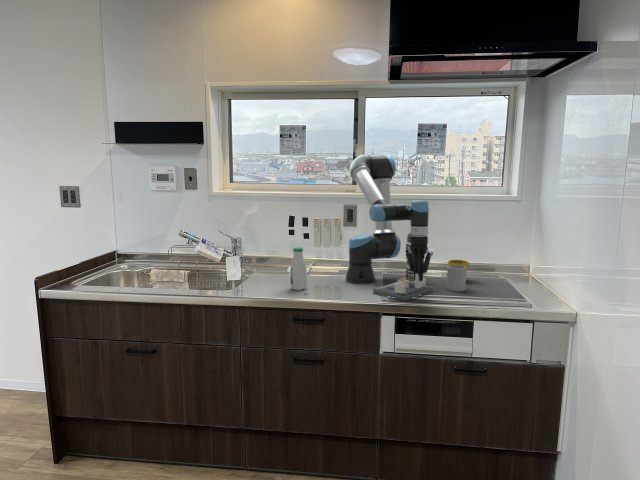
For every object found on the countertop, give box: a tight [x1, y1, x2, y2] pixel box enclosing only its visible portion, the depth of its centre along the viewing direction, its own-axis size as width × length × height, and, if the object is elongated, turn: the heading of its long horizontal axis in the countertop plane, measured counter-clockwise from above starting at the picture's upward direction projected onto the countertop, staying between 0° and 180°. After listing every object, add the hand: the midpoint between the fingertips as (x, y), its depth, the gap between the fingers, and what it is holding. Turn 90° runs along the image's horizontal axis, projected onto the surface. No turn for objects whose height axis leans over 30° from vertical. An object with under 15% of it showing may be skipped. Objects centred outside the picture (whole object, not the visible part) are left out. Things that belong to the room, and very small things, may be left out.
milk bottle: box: [290, 246, 308, 291], centre depth 214 cm, size 8×8×20 cm
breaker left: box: [395, 282, 406, 294], centre depth 197 cm, size 4×3×4 cm
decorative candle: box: [405, 231, 415, 283], centre depth 224 cm, size 9×9×25 cm
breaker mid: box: [397, 277, 409, 288], centre depth 205 cm, size 4×3×4 cm
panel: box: [372, 281, 434, 302], centre depth 206 cm, size 18×22×2 cm
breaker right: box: [421, 277, 427, 287], centre depth 208 cm, size 4×3×4 cm
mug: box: [446, 265, 467, 292], centre depth 211 cm, size 12×8×11 cm
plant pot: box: [447, 259, 470, 274], centre depth 227 cm, size 10×10×10 cm
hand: (418, 287), depth 200 cm, fingers closed
